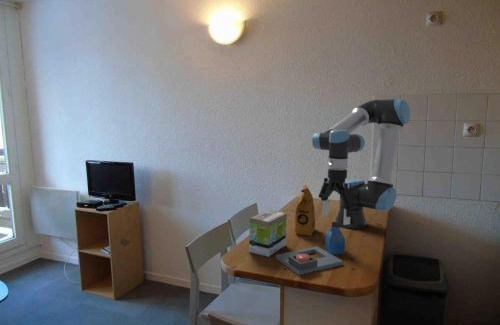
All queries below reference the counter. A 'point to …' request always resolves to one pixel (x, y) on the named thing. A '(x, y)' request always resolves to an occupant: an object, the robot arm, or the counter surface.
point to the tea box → (267, 232)
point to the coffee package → (305, 213)
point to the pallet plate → (311, 265)
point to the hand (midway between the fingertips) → (335, 219)
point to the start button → (302, 257)
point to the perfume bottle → (335, 240)
